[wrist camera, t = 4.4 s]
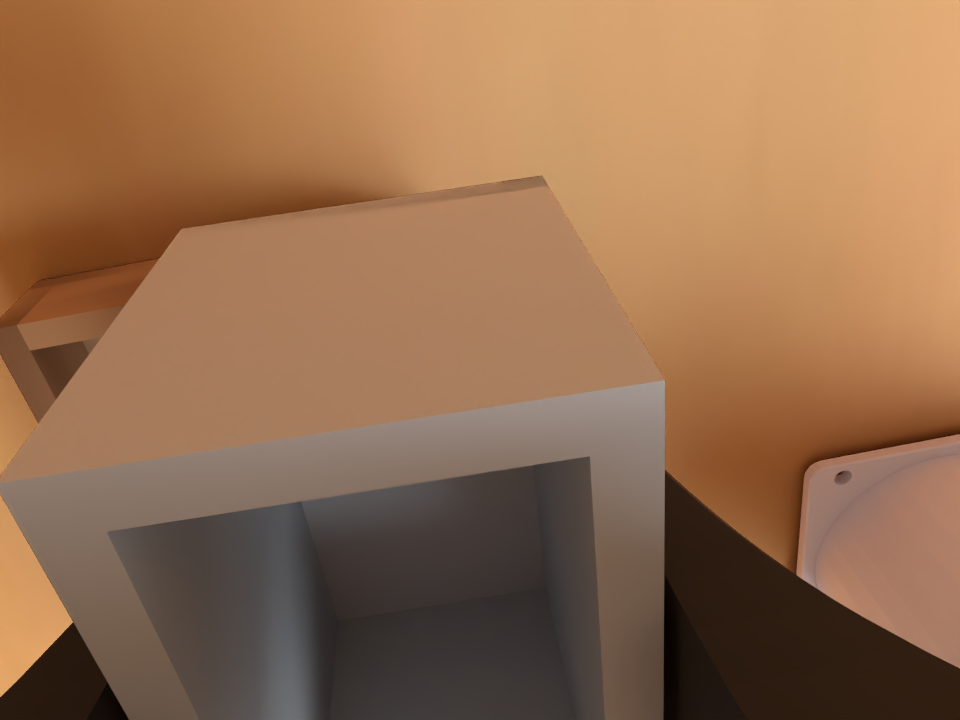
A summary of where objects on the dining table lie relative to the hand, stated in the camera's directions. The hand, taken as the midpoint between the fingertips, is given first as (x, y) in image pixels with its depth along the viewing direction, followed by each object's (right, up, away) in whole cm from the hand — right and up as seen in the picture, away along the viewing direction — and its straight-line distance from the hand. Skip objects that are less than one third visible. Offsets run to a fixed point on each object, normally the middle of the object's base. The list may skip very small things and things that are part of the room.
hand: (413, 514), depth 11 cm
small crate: (0, +1, +1) cm, 2 cm away
